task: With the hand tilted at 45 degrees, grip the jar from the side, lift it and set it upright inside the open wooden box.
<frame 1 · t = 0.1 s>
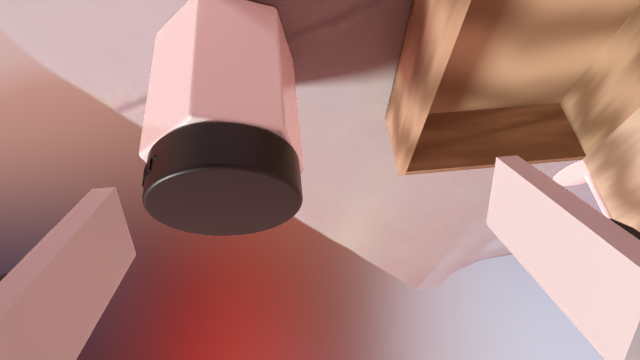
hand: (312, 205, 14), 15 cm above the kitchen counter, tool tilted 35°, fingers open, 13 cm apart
jar: (228, 44, 27), on the kitchen counter
open wooden box: (524, 14, 27), on the kitchen counter
wineglass: (585, 169, 49), on the kitchen counter
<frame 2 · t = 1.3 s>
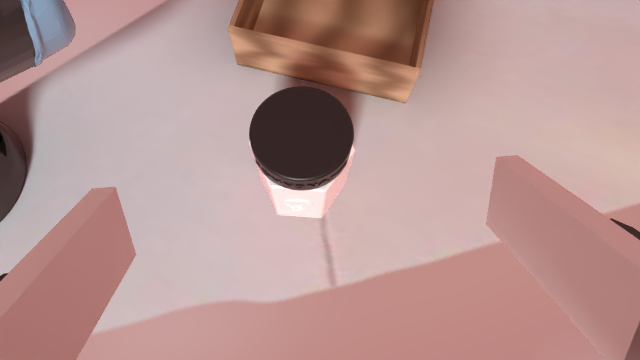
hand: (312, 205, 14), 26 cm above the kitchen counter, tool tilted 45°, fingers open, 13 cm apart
jar: (302, 181, 42), on the kitchen counter
open wooden box: (336, 28, 48), on the kitchen counter
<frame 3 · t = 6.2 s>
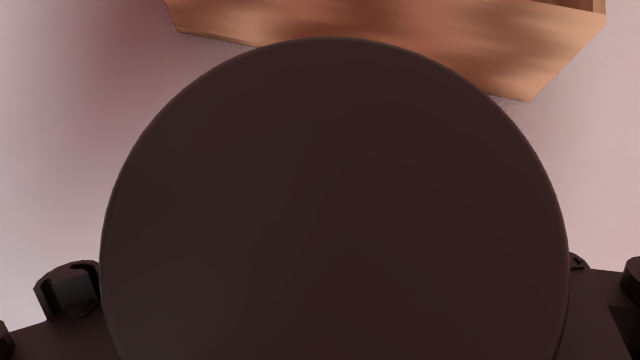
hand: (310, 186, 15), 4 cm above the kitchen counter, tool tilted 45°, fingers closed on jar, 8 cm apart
jar: (319, 287, 18), on the kitchen counter, touching gripper
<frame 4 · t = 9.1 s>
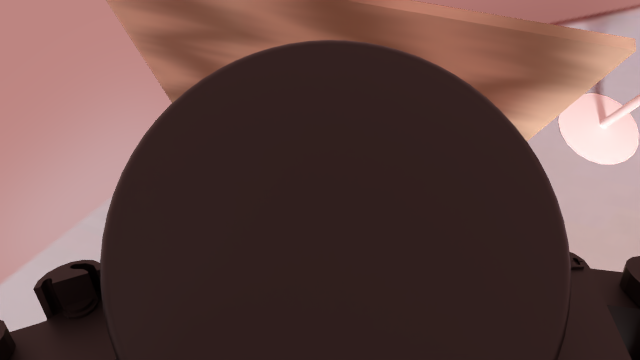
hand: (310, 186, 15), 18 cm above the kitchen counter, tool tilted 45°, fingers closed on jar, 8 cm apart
jar: (319, 288, 18), point 14 cm above the kitchen counter, touching gripper
open wooden box: (307, 277, 32), on the kitchen counter
wineglass: (597, 128, 37), on the kitchen counter
when the fingers open (6 cm above the kitchen counter, at t = 12.1 s): jar drops 2 cm, resting on open wooden box.
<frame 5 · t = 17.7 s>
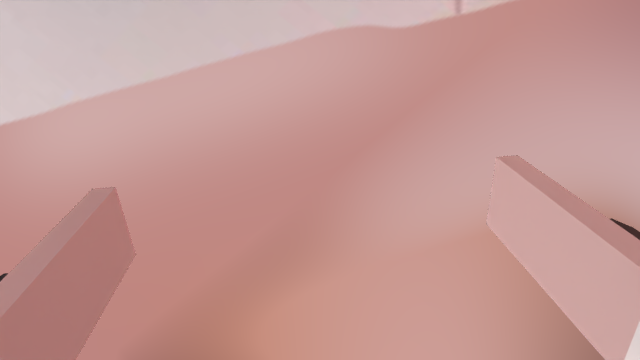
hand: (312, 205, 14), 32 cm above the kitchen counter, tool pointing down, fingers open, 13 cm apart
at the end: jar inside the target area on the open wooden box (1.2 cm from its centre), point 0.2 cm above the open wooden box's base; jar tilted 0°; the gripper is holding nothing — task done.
